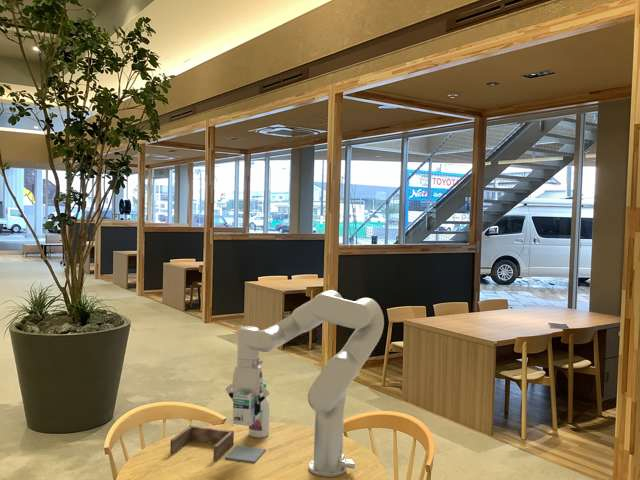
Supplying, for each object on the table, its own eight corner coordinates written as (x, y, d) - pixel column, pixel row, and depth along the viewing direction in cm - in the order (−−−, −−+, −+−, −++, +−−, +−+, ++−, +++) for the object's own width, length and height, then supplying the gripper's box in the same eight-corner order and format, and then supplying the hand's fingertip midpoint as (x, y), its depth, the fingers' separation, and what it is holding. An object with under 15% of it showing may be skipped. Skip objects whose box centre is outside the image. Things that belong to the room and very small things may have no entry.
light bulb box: (250, 426, 199) (251, 395, 198) (232, 424, 200) (232, 393, 199) (260, 416, 209) (261, 386, 208) (242, 414, 210) (243, 384, 210)
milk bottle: (261, 429, 229) (263, 378, 228) (273, 435, 223) (274, 383, 222) (244, 433, 224) (246, 381, 223) (256, 439, 218) (257, 387, 218)
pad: (265, 450, 209) (265, 448, 209) (254, 463, 198) (254, 461, 198) (236, 446, 212) (236, 444, 212) (224, 458, 201) (224, 457, 201)
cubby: (233, 444, 213) (233, 431, 213) (216, 461, 199) (217, 446, 199) (189, 438, 218) (190, 425, 217) (170, 454, 203) (170, 440, 203)
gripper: (275, 362, 205) (273, 412, 206) (229, 357, 209) (227, 406, 210) (268, 367, 198) (266, 419, 199) (220, 362, 202) (219, 413, 203)
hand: (246, 412), depth 204 cm, fingers closed on light bulb box, 6 cm apart
